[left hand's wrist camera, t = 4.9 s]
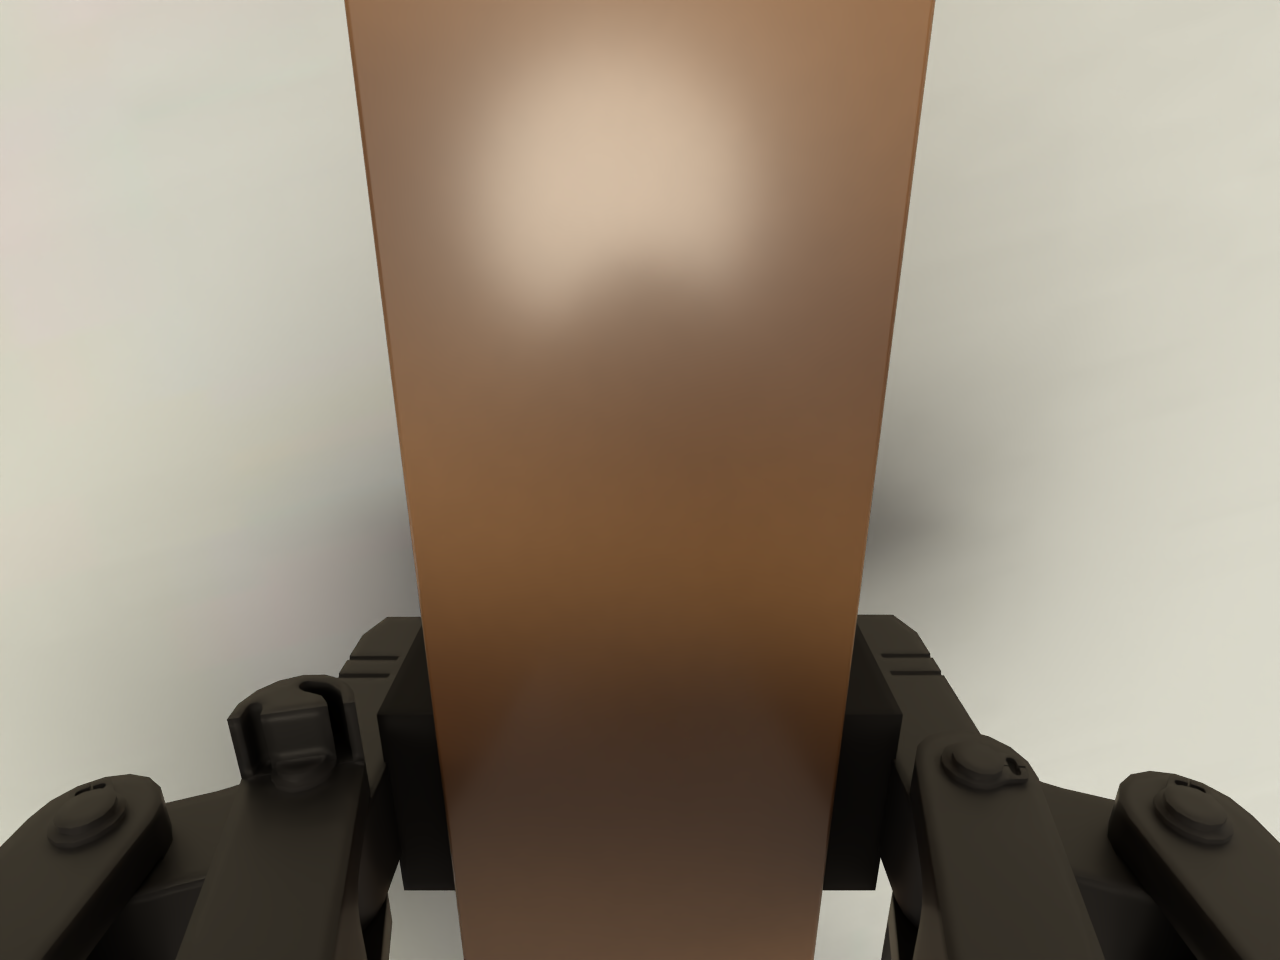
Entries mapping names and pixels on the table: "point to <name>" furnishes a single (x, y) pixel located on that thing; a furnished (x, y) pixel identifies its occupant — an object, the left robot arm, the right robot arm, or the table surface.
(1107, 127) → the table surface
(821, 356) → the post
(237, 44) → the table surface
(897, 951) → the left robot arm
